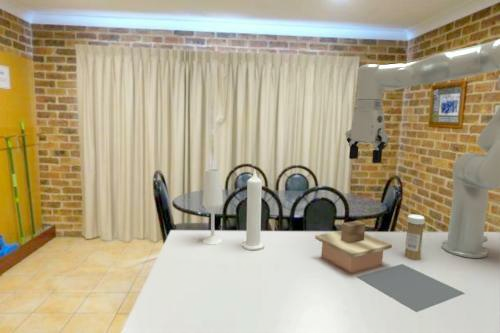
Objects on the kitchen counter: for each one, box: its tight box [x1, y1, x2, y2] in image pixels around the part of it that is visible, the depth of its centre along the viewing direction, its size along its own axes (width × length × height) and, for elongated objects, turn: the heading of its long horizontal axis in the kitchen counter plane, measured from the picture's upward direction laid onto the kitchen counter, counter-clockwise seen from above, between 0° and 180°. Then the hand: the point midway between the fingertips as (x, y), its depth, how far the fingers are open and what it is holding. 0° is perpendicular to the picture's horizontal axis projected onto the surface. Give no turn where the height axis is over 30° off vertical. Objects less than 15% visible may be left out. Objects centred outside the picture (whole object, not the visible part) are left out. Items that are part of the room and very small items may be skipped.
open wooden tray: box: [320, 242, 384, 274], centre depth 101 cm, size 12×12×6 cm
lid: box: [314, 220, 393, 258], centre depth 100 cm, size 15×15×6 cm
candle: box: [241, 169, 265, 252], centre depth 110 cm, size 7×7×25 cm
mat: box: [356, 263, 466, 313], centre depth 88 cm, size 18×18×1 cm
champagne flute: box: [202, 168, 224, 246], centre depth 114 cm, size 7×7×24 cm
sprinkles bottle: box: [403, 213, 426, 261], centre depth 104 cm, size 5×5×14 cm
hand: (364, 160), depth 110 cm, fingers open, 9 cm apart
